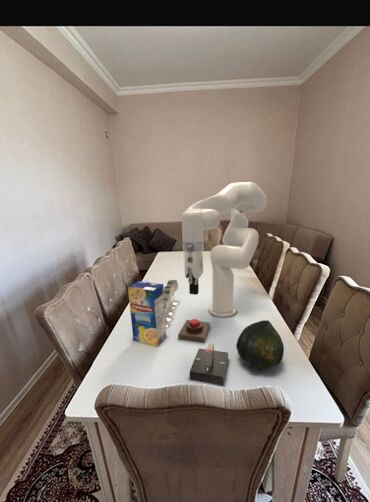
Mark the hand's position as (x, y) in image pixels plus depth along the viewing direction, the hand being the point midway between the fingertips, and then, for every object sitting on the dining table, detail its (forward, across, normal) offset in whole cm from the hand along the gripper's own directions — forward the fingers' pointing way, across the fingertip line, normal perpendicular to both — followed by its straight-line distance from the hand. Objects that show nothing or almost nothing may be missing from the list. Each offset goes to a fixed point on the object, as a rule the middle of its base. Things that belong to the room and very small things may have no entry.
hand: (194, 293), depth 95 cm
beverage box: (+17, -8, +16) cm, 25 cm away
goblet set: (+17, +14, +16) cm, 27 cm away
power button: (+14, 0, 0) cm, 14 cm away
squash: (+17, -12, -25) cm, 33 cm away
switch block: (+17, 0, 0) cm, 17 cm away
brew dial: (+14, -20, -10) cm, 26 cm away
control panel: (+17, -20, -10) cm, 28 cm away
